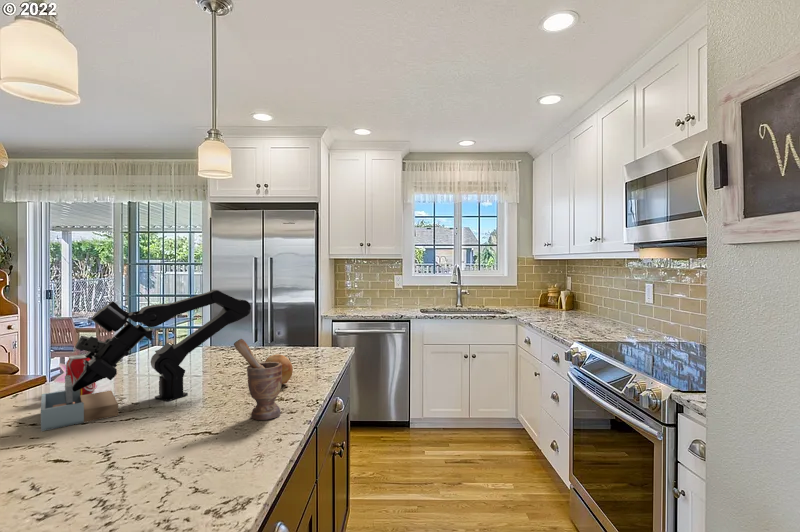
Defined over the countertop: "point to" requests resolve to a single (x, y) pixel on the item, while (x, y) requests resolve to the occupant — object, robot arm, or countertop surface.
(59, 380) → the lily
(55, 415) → the box
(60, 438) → the countertop surface
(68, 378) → the grey flat plank
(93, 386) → the soda can
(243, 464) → the countertop surface
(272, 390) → the mortar and pestle
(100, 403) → the raised board
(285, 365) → the onion
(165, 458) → the countertop surface
